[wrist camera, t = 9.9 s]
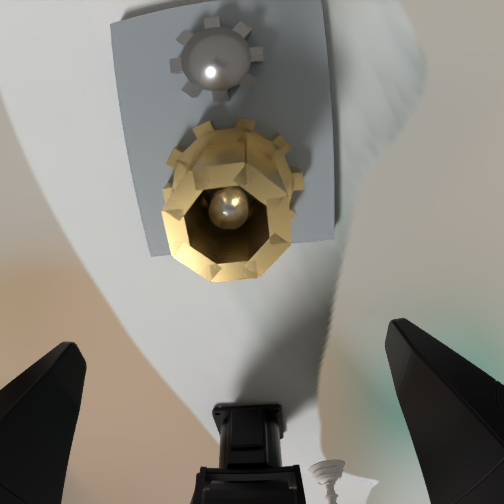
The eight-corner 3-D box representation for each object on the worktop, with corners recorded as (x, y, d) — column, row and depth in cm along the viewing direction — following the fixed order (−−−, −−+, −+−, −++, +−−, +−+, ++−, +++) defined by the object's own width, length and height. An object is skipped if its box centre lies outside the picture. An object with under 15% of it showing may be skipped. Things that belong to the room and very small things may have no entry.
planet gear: (302, 234, 19) (323, 295, 13) (181, 247, 19) (157, 310, 14) (294, 110, 15) (320, 120, 10) (157, 127, 16) (115, 148, 10)
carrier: (330, 232, 20) (355, 281, 15) (155, 248, 20) (129, 300, 15) (316, 0, 13) (344, -33, 8) (117, 26, 13) (70, 8, 9)
